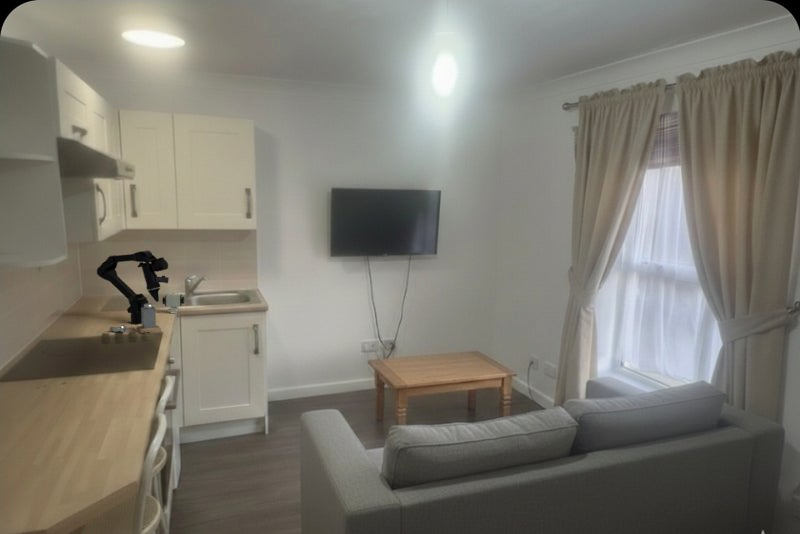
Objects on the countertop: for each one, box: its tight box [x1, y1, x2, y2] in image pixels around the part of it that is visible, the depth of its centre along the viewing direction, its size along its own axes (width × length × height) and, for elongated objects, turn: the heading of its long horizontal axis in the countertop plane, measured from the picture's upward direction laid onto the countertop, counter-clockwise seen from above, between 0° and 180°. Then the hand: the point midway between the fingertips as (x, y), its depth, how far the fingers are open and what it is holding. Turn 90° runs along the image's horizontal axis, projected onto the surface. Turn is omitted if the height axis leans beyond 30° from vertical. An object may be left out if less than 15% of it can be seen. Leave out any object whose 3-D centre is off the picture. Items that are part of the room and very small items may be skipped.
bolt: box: [109, 324, 127, 333], centre depth 258 cm, size 7×4×4 cm, turn 83°
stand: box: [136, 324, 162, 334], centre depth 262 cm, size 9×9×2 cm
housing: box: [141, 302, 157, 329], centre depth 262 cm, size 4×6×12 cm
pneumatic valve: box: [162, 293, 186, 315], centre depth 305 cm, size 6×12×12 cm, turn 106°
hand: (157, 301), depth 275 cm, fingers open, 9 cm apart
